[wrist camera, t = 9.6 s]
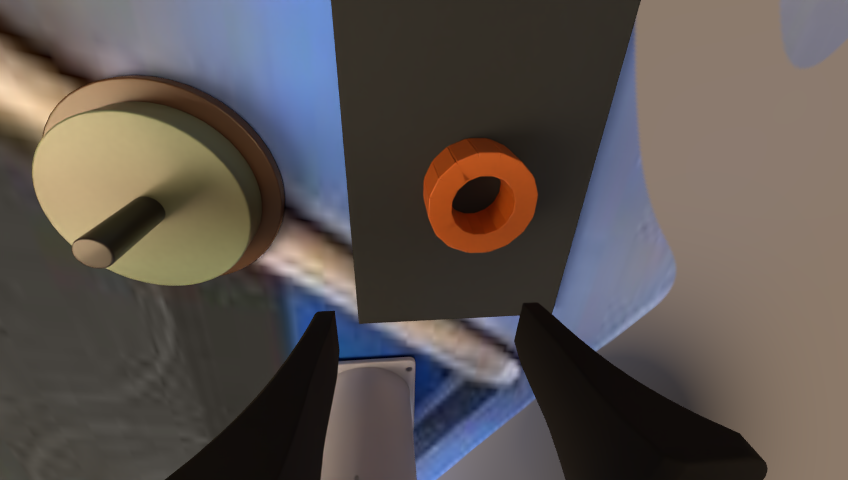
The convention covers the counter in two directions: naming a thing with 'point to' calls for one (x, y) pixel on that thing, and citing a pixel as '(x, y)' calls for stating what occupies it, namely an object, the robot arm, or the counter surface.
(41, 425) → the counter surface
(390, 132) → the mat
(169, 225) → the ring stand
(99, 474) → the counter surface
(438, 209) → the ring
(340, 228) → the counter surface
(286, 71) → the counter surface
